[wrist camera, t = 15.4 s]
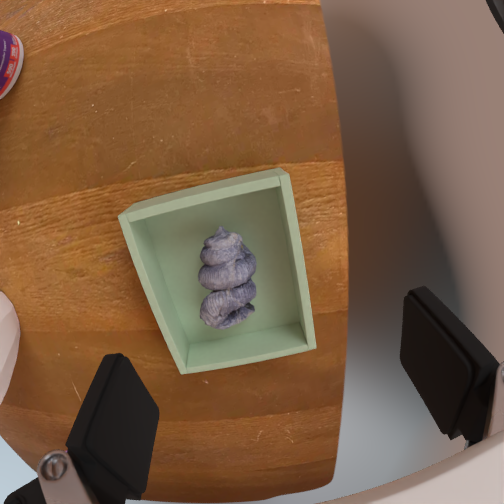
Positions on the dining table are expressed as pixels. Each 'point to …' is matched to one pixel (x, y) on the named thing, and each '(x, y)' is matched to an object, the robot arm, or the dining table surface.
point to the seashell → (226, 280)
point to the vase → (7, 342)
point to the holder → (189, 263)
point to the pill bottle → (9, 61)
